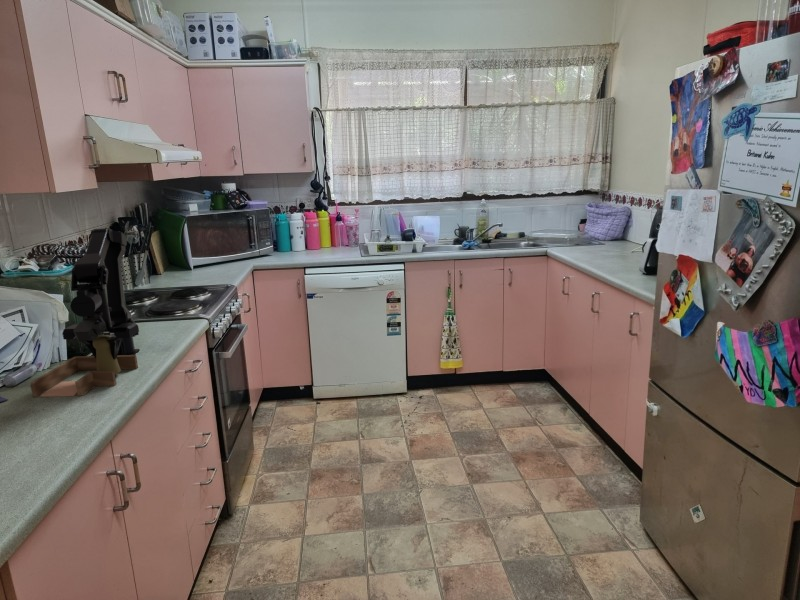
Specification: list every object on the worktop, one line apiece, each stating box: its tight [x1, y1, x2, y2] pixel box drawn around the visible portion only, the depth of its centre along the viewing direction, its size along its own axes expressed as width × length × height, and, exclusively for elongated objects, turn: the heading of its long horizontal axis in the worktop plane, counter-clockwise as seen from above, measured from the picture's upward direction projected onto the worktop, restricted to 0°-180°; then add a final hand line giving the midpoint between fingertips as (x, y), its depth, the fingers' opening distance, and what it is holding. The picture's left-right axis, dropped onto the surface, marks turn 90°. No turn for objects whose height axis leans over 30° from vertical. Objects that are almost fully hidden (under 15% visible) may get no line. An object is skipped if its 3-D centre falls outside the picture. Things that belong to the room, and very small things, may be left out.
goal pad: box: [39, 380, 78, 398], centre depth 143 cm, size 9×9×1 cm
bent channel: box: [29, 354, 139, 398], centre depth 147 cm, size 19×18×4 cm
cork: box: [93, 334, 122, 375], centre depth 148 cm, size 6×6×11 cm
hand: (106, 359), depth 149 cm, fingers closed on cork, 4 cm apart
